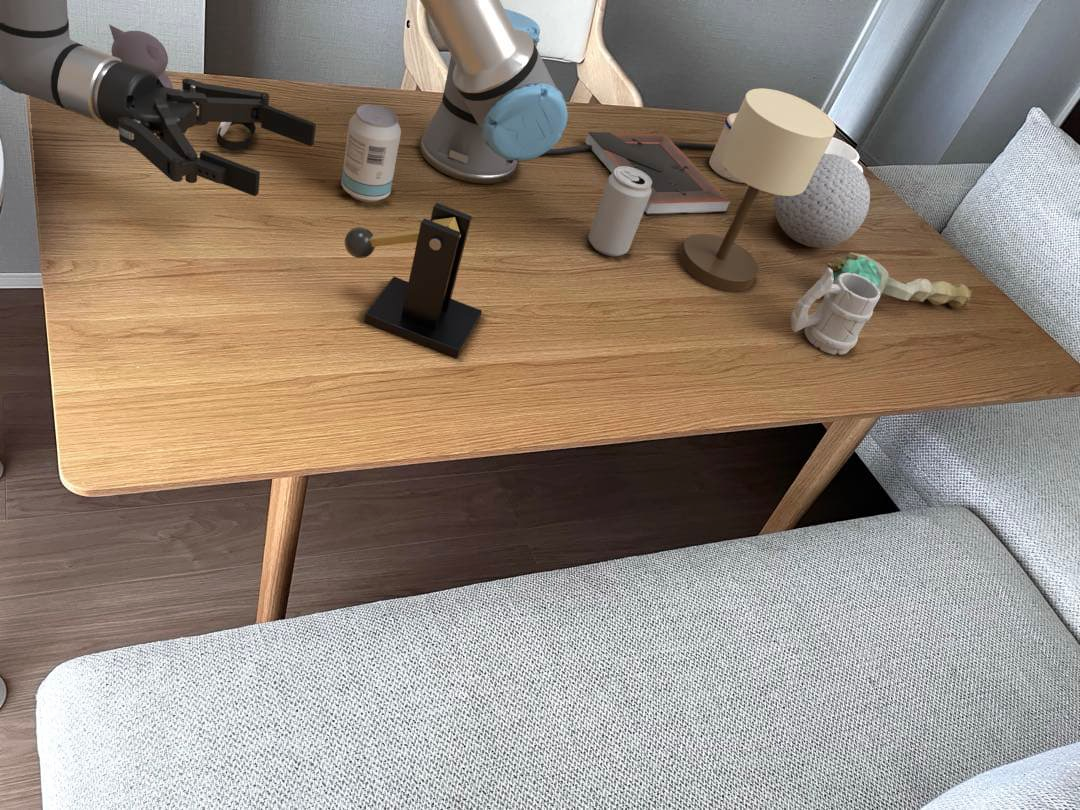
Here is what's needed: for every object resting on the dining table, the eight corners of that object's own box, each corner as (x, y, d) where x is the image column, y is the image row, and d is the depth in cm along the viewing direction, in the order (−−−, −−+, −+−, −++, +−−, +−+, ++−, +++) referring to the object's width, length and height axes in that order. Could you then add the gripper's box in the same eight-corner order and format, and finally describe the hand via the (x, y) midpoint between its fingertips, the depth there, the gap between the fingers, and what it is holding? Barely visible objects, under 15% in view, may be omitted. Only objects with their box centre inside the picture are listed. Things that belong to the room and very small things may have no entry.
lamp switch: (346, 265, 108) (334, 237, 106) (358, 250, 111) (347, 223, 109) (454, 252, 103) (444, 223, 101) (464, 237, 106) (455, 209, 104)
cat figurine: (185, 119, 131) (186, 38, 123) (148, 138, 125) (147, 54, 117) (134, 96, 131) (132, 14, 124) (95, 114, 125) (90, 28, 118)
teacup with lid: (720, 182, 162) (747, 123, 154) (699, 155, 168) (724, 96, 160) (775, 186, 167) (804, 129, 159) (752, 160, 173) (779, 103, 165)
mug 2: (860, 358, 133) (903, 293, 125) (790, 353, 129) (830, 285, 121) (837, 324, 138) (877, 259, 130) (770, 318, 134) (807, 251, 126)
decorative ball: (859, 259, 155) (905, 182, 145) (802, 271, 147) (847, 190, 137) (799, 209, 163) (839, 133, 153) (742, 218, 154) (780, 138, 145)
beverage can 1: (396, 190, 132) (410, 114, 124) (378, 212, 127) (391, 134, 119) (352, 173, 132) (363, 96, 124) (332, 194, 127) (342, 115, 119)
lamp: (730, 242, 147) (803, 92, 130) (770, 293, 139) (853, 140, 122) (662, 241, 142) (729, 84, 125) (700, 294, 134) (776, 133, 117)
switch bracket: (363, 322, 109) (382, 217, 99) (392, 284, 116) (411, 182, 106) (457, 358, 109) (484, 257, 99) (480, 318, 116) (508, 220, 106)
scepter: (950, 264, 156) (820, 246, 141) (992, 274, 148) (860, 256, 134) (935, 313, 158) (806, 301, 144) (976, 325, 151) (844, 313, 137)
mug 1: (778, 190, 166) (803, 140, 159) (800, 180, 172) (826, 131, 165) (827, 222, 162) (855, 172, 155) (849, 211, 168) (877, 161, 161)
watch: (231, 125, 133) (232, 101, 130) (262, 135, 133) (264, 112, 131) (207, 147, 127) (207, 123, 125) (239, 158, 127) (240, 134, 125)
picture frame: (584, 144, 159) (645, 215, 146) (588, 131, 157) (651, 202, 145) (660, 145, 167) (724, 213, 154) (665, 133, 165) (730, 200, 153)
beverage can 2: (615, 264, 133) (643, 193, 125) (579, 243, 135) (604, 172, 127) (634, 249, 138) (662, 180, 130) (599, 228, 139) (624, 159, 131)
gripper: (175, 85, 116) (330, 144, 115) (44, 166, 97) (229, 238, 96) (174, 27, 111) (337, 89, 110) (36, 101, 92) (231, 175, 91)
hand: (287, 158), depth 103 cm, fingers open, 13 cm apart
